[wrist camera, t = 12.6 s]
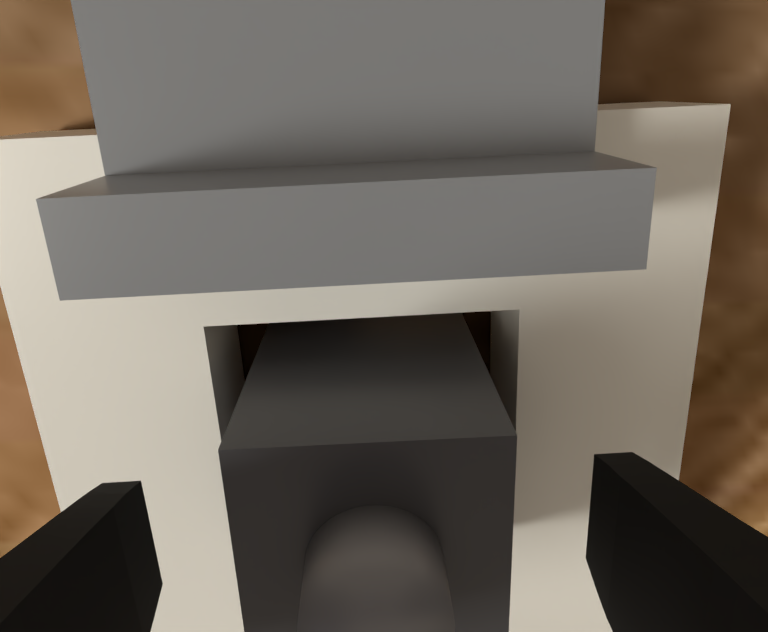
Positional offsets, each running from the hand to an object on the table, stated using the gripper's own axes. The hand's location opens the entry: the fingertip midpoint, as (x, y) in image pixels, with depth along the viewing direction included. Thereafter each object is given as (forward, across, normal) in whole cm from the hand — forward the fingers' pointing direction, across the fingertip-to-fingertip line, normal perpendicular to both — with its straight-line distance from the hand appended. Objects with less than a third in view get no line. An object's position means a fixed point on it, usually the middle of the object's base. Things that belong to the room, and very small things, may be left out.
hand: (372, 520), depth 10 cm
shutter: (+2, 0, -7) cm, 8 cm away
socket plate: (+4, 0, 0) cm, 4 cm away
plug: (+4, 0, 0) cm, 4 cm away
